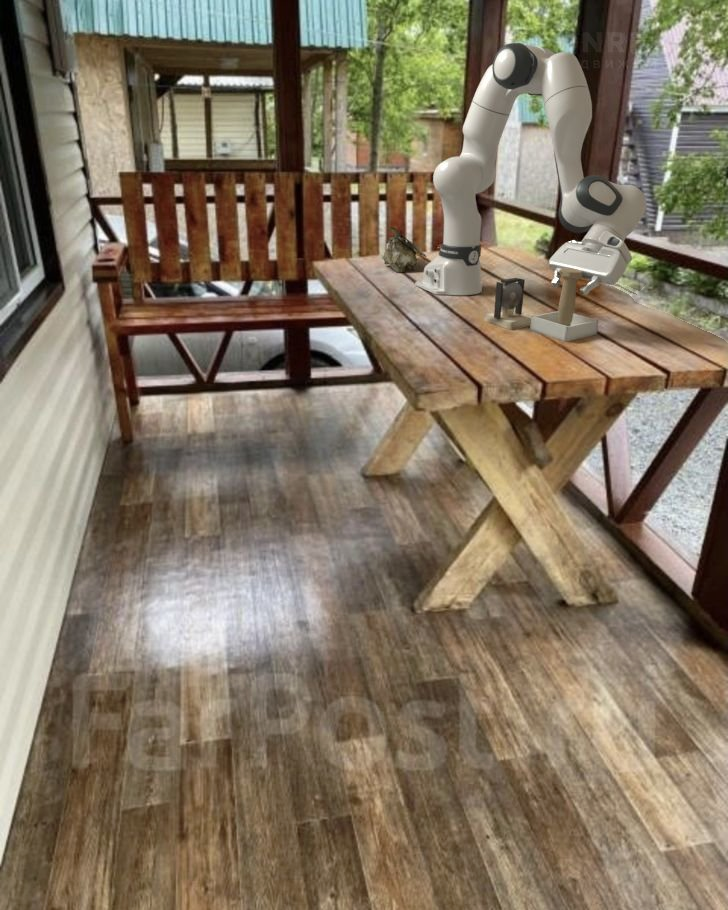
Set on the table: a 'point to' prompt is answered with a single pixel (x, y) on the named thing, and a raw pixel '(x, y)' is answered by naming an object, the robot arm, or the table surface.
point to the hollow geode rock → (401, 253)
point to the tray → (551, 328)
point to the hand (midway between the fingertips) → (568, 289)
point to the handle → (568, 295)
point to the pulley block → (509, 305)
